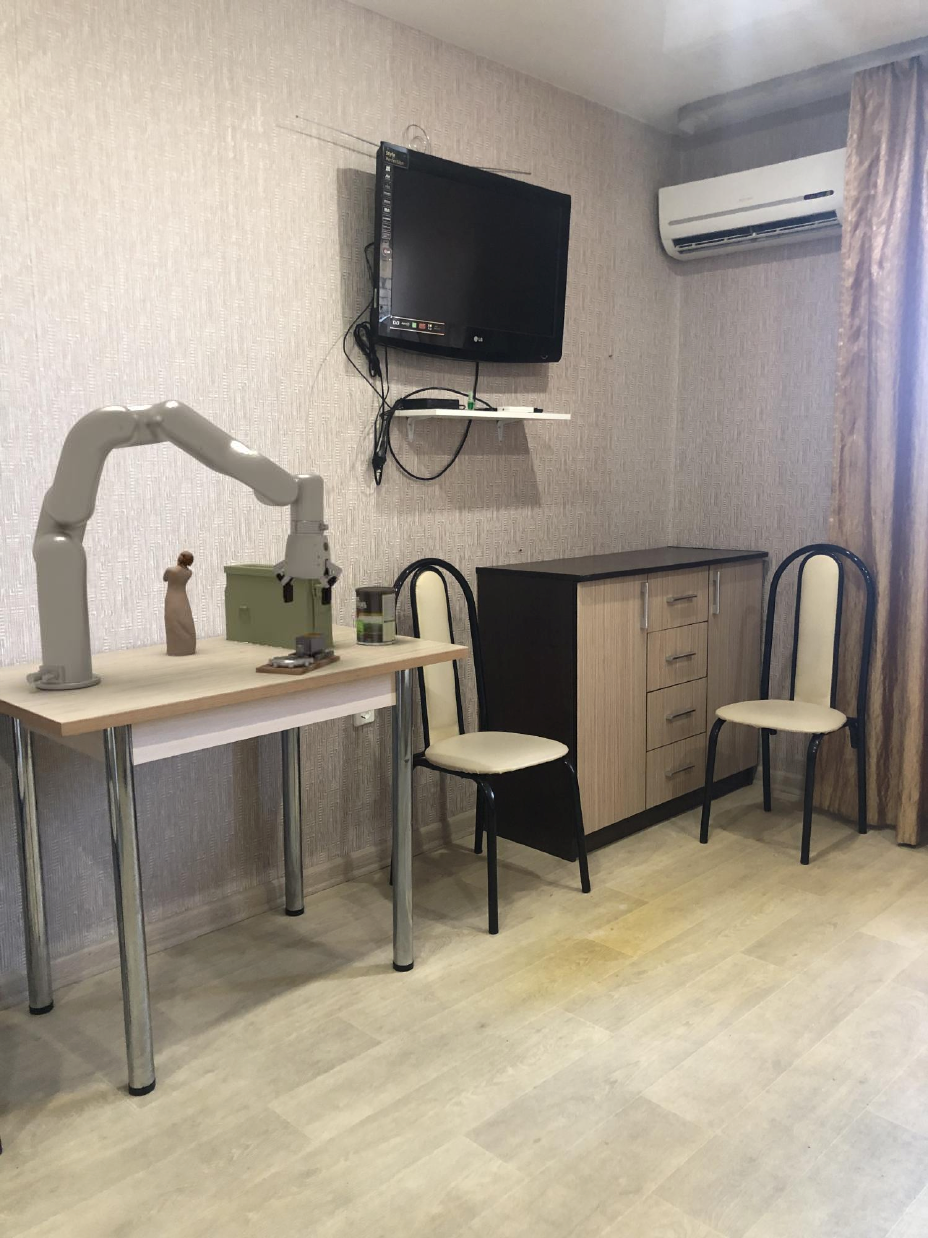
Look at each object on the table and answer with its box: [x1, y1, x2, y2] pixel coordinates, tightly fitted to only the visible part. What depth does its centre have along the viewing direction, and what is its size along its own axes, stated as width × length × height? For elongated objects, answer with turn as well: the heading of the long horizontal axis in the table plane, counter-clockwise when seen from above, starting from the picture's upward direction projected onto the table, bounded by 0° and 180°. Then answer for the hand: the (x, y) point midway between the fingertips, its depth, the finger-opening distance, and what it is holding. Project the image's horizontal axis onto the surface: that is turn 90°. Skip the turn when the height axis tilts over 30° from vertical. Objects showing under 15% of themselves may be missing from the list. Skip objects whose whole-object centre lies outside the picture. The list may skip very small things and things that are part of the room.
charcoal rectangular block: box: [295, 633, 327, 659], centre depth 229 cm, size 7×4×5 cm, turn 161°
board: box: [255, 649, 341, 676], centre depth 225 cm, size 19×11×2 cm, turn 160°
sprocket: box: [268, 644, 313, 667], centre depth 220 cm, size 10×10×4 cm
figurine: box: [162, 550, 197, 657], centre depth 241 cm, size 8×8×25 cm
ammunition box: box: [223, 563, 335, 651], centre depth 254 cm, size 10×33×20 cm, turn 52°
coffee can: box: [354, 586, 397, 646], centre depth 255 cm, size 10×10×14 cm
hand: (307, 603), depth 228 cm, fingers open, 9 cm apart
